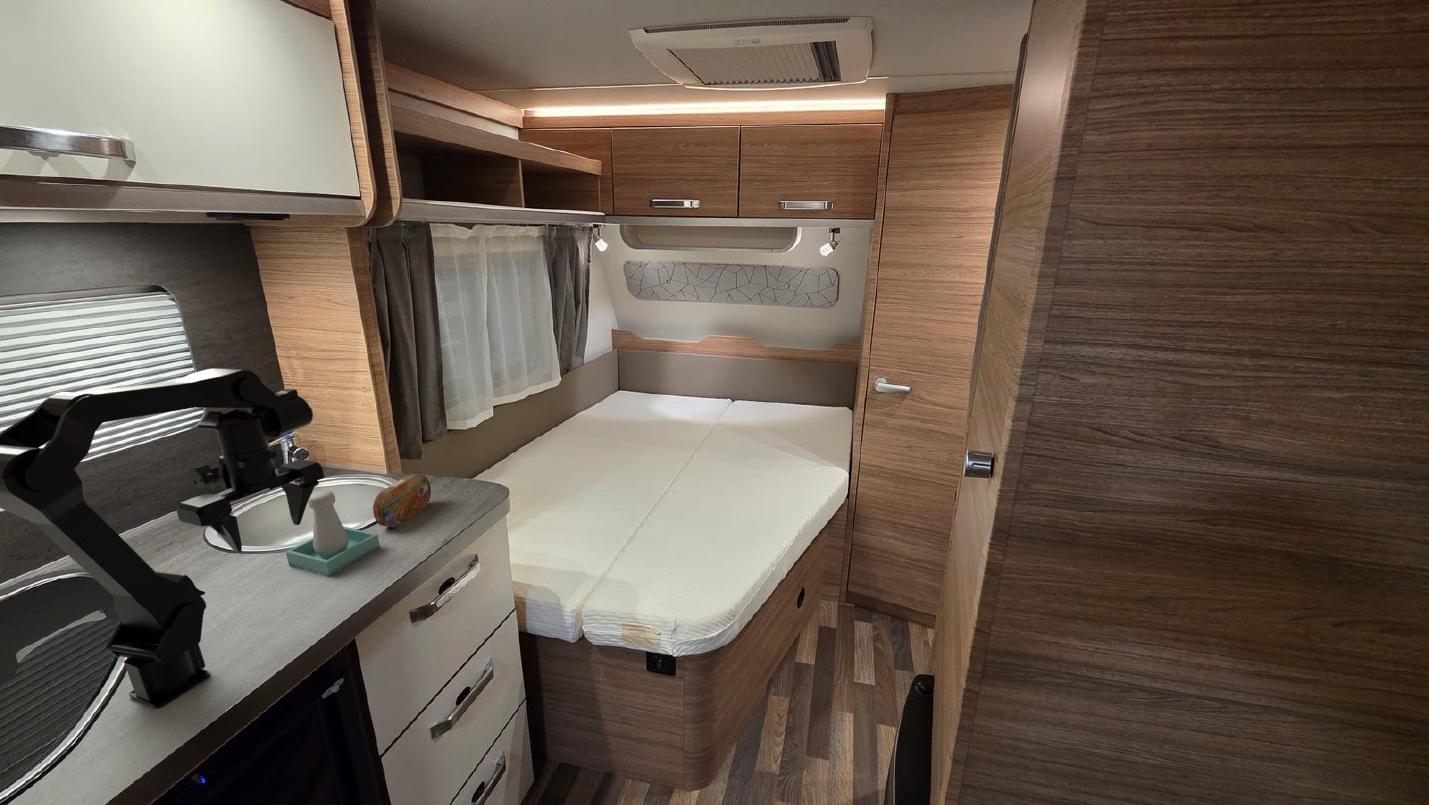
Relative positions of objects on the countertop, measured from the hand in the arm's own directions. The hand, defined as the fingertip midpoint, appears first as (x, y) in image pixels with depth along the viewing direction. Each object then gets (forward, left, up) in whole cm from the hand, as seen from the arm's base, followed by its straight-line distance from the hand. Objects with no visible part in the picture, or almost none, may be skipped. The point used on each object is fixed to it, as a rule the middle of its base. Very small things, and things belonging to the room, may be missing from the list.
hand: (268, 537), depth 95 cm
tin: (+31, +7, -13) cm, 34 cm away
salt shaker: (+14, +7, -13) cm, 20 cm away
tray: (+14, +7, -13) cm, 20 cm away
